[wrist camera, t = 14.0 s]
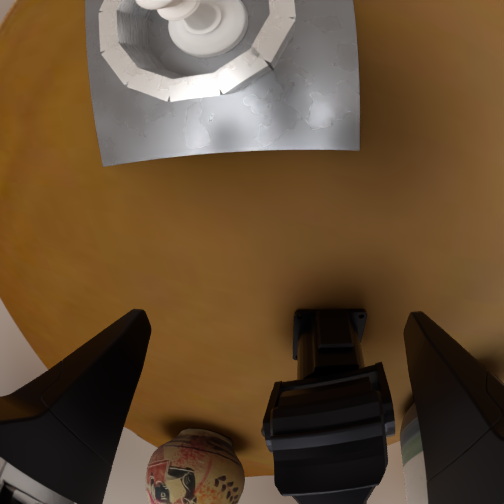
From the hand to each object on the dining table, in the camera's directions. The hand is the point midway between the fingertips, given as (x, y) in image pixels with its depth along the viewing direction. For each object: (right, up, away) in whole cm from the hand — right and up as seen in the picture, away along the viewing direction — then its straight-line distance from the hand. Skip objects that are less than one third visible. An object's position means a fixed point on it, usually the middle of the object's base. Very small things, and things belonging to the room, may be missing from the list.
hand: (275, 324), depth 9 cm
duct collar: (-3, +17, +5) cm, 18 cm away
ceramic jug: (-10, -29, +34) cm, 46 cm away
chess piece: (-3, +16, +5) cm, 17 cm away
